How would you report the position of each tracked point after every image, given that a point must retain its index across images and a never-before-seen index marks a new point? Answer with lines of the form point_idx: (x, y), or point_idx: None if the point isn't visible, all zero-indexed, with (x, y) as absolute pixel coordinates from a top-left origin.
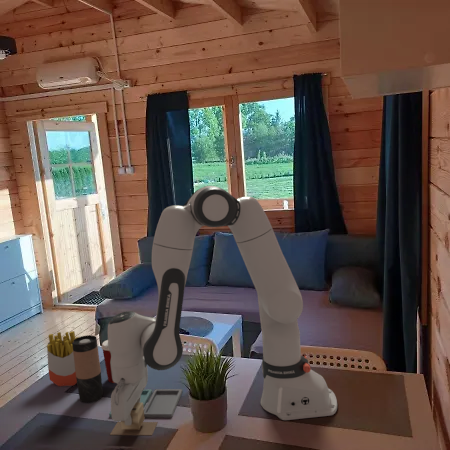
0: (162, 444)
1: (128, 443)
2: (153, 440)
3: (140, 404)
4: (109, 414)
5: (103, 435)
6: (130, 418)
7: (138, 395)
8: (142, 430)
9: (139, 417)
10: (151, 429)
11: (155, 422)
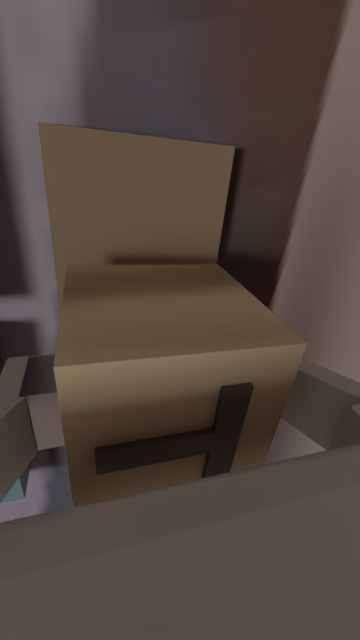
0: (333, 21)
1: (260, 292)
2: (267, 124)
3: (114, 380)
4: (25, 492)
5: None
6: (319, 368)
7: (168, 574)
8: (169, 243)
9: (220, 300)
10: (159, 168)
11: (48, 150)
